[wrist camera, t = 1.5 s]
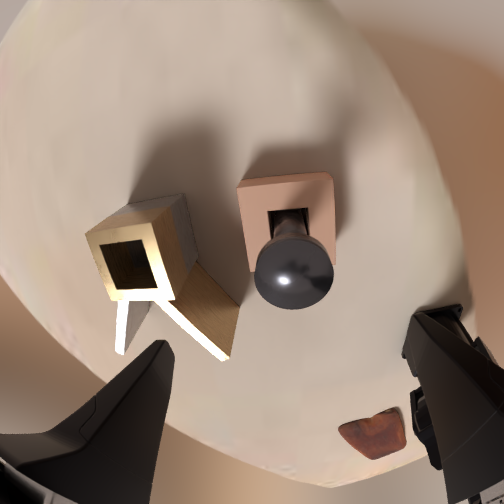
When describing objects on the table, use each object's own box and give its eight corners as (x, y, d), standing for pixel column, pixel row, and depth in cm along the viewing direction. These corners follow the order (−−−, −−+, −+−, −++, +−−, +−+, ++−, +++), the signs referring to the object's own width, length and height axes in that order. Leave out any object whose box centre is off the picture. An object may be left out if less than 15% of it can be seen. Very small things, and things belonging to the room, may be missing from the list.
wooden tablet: (333, 423, 34) (334, 432, 33) (395, 402, 31) (397, 411, 30) (366, 459, 44) (367, 465, 42) (407, 445, 41) (409, 451, 39)
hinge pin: (310, 189, 19) (333, 238, 11) (313, 235, 20) (332, 305, 13) (260, 194, 19) (248, 245, 12) (266, 239, 21) (259, 311, 13)
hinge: (216, 188, 19) (192, 216, 14) (240, 310, 24) (230, 361, 19) (104, 209, 21) (61, 238, 15) (142, 312, 26) (117, 354, 20)
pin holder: (326, 171, 18) (333, 178, 16) (329, 248, 21) (335, 264, 18) (241, 179, 19) (236, 188, 17) (253, 255, 21) (250, 271, 19)
